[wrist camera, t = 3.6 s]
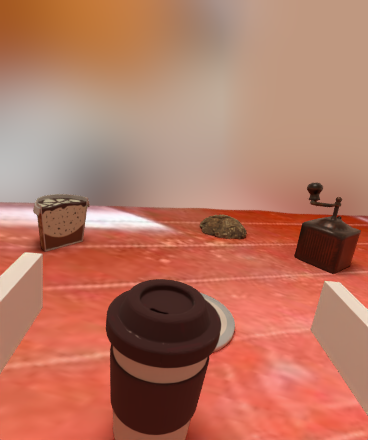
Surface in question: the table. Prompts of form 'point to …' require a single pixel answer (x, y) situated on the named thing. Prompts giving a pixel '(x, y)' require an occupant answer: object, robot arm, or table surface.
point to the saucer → (222, 322)
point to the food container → (60, 220)
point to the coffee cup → (158, 358)
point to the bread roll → (223, 227)
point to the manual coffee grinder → (326, 238)
